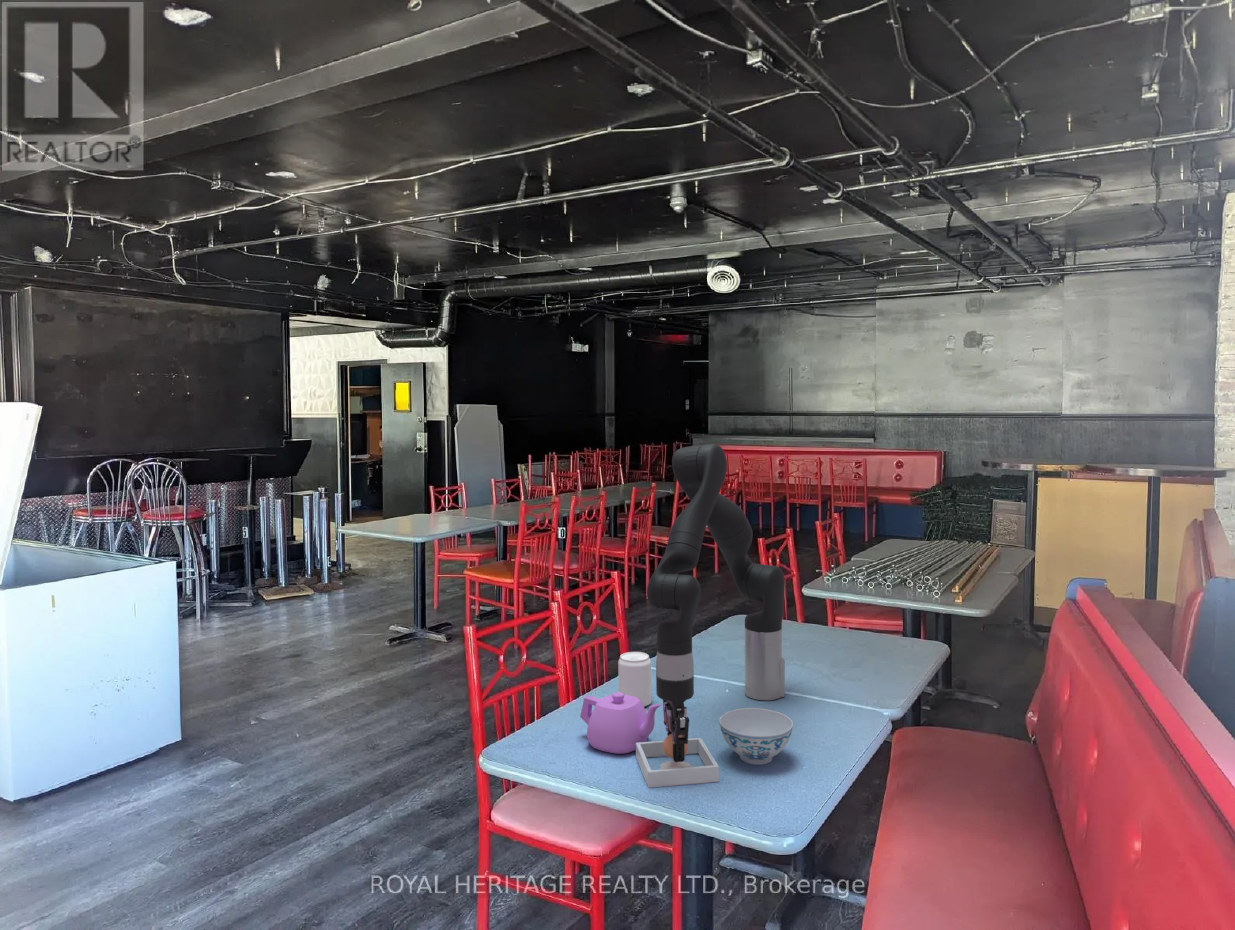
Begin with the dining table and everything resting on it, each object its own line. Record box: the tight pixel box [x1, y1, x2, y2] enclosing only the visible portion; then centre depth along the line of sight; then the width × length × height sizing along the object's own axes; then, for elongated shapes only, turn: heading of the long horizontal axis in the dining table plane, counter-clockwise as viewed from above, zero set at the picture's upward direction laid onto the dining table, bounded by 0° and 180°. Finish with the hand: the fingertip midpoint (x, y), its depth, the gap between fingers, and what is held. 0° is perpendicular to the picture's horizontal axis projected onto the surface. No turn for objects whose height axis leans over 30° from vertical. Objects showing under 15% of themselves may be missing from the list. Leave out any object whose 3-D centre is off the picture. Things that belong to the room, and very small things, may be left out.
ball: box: [663, 734, 688, 760], centre depth 160 cm, size 5×5×5 cm
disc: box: [659, 759, 693, 770], centre depth 161 cm, size 6×6×1 cm
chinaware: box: [718, 707, 794, 766], centre depth 165 cm, size 15×15×8 cm
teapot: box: [580, 691, 662, 755], centre depth 173 cm, size 13×20×11 cm
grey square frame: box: [635, 737, 720, 788], centre depth 161 cm, size 14×14×3 cm
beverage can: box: [617, 651, 652, 708], centre depth 197 cm, size 8×8×12 cm
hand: (675, 754), depth 161 cm, fingers closed on ball, 4 cm apart
